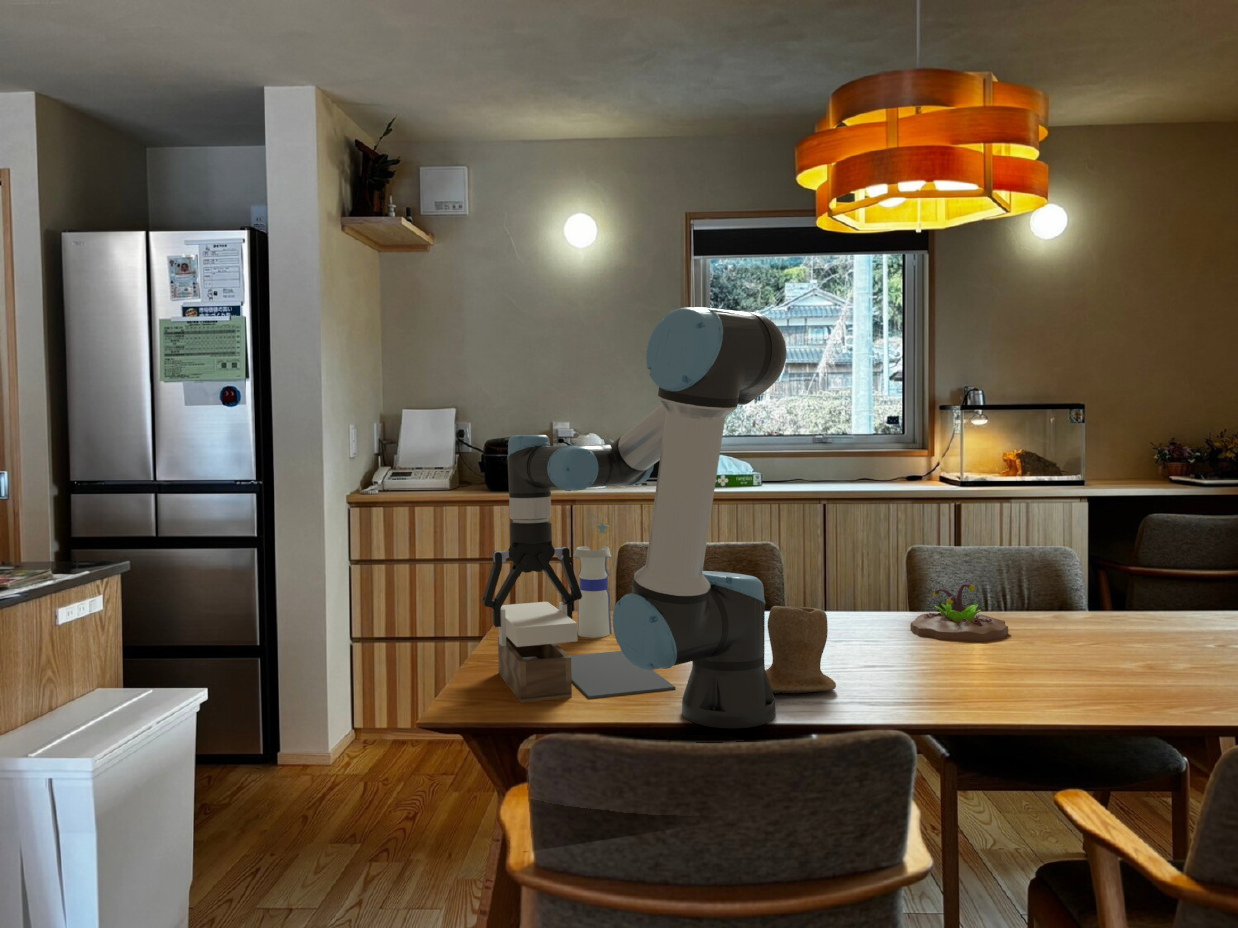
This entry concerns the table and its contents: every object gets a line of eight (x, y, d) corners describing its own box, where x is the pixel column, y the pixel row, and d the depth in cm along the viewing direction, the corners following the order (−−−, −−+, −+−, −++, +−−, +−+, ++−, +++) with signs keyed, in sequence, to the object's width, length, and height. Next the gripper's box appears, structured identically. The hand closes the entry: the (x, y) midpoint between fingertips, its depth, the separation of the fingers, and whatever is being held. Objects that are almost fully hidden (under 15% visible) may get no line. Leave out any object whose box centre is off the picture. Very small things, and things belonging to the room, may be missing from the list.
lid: (577, 641, 164) (577, 622, 164) (516, 646, 161) (516, 628, 161) (547, 617, 185) (547, 601, 185) (493, 622, 182) (493, 605, 181)
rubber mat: (675, 689, 169) (675, 686, 169) (588, 698, 164) (588, 696, 164) (625, 652, 196) (625, 650, 196) (549, 659, 191) (549, 657, 191)
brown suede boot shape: (823, 679, 175) (823, 598, 174) (842, 698, 163) (842, 611, 162) (741, 681, 174) (741, 600, 173) (754, 700, 162) (753, 613, 161)
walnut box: (571, 697, 165) (571, 657, 165) (520, 702, 163) (520, 662, 162) (544, 668, 184) (544, 632, 184) (498, 673, 182) (497, 636, 181)
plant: (998, 648, 197) (998, 594, 197) (903, 637, 208) (903, 586, 207) (1014, 628, 214) (1014, 579, 214) (925, 619, 225) (925, 572, 224)
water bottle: (577, 629, 218) (575, 520, 217) (614, 629, 217) (613, 520, 216) (572, 637, 210) (570, 524, 209) (610, 637, 209) (609, 524, 208)
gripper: (586, 515, 179) (589, 631, 180) (463, 521, 172) (466, 642, 173) (597, 518, 172) (600, 640, 173) (469, 525, 165) (473, 652, 166)
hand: (533, 641), depth 173 cm, fingers closed on lid, 11 cm apart
